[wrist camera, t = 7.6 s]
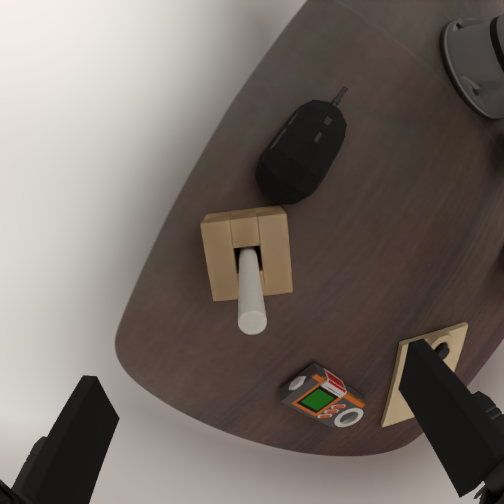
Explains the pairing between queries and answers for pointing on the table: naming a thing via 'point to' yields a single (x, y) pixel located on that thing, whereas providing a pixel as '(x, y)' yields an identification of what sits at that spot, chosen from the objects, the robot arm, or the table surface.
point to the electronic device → (323, 397)
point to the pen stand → (244, 235)
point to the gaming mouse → (302, 152)
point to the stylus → (250, 293)
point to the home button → (442, 350)
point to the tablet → (396, 403)
